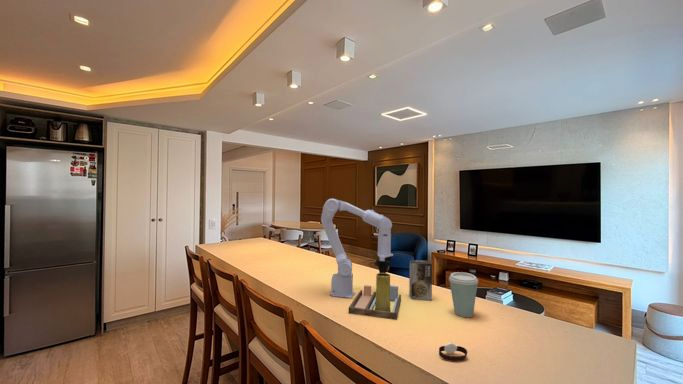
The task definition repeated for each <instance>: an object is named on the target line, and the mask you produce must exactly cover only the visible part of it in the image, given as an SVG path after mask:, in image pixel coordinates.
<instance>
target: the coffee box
mask: <svg viewBox="0 0 683 384" xmlns="http://www.w3.org/2000/svg"><path fill="white" fill-rule="evenodd" d="M408 282H409V283H408V285H409V286H408V287H409V289H408V293H409V294H408V295H409V298H410V299H411V300H415V301H417V300H418V301H419V300H420V301H432V300H433V299H432V298H433V263H432V262H431V261H430V260H420V259H419V260H417V259H412V260H411V259H410V260H409V280H408Z"/></svg>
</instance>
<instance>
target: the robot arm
mask: <svg viewBox="0 0 683 384" xmlns="http://www.w3.org/2000/svg"><path fill="white" fill-rule="evenodd" d="M338 211H339V212H344V211H345V212H349V213H350V214H353V215H356V216H358V217H360V218H362V221H363V222H365V223H367V224H369V225H371V226H373V227H376V228H377V227H378V233H377V234H378V236H377V253H376V254H377V256H378V258H379V259H378V258H377V259H376V260H375V262H376V265H377V267H378V271H379V272H378V273H388V270H389V266H390V265H389V264H390V262H391V260H392V257H393V256H394V254H393V253H392V251H391V249H392V248H391V246H392V245H391V244H392V243H391V241H392V232H391V231H392V230H391V229H392V227H393V223H392V220H391V219H389V217H387V216H384V214H382V213H381V214H379V213H377V212H376V211H375V210H374V209H367V210H363V209H362V208H359V207H357V206H356V205H353V204H351V203H349V202H346V201H344V200H339V199H336V198H329V199H327V200H326V201H325V203H324V204H323V207H322V212H321V216H320V222H321V224H322V227H323V229H324V232H325V234H326V237H327V239H328V242H329V244H330V246H331V249H332V251H333V254H334V256H335V260H336V264H337V273H333V274H332V277H331V285H330V296H332V297H338V298H346V299H351V298H353V296H354V295H355V293H356V292H355V291H354V290H353V287H354V286H353V283H354V277H353V276H354V273H353V262H352V260H351V259H349V257H348V255H347V253H346V252H345V249H344V246H343V244H342V242H341V240H340V237H339V234H338V233H337V230H336V227H335V224H334V223H333V219H334V216H335V214H336V213H337V212H338Z"/></svg>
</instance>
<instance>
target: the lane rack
mask: <svg viewBox="0 0 683 384" xmlns="http://www.w3.org/2000/svg"><path fill="white" fill-rule="evenodd" d="M362 294H363V290H362V289H361V290H360V291H359V292H358V293H357V295H356V296H355V297H354V299H353V301H352V302H351V303H350V305H349V306H348V314H351V315H357V316H358V315H360V316H366V317H371V318H382V319H388V320H395V321H397V320H398V317H399V311H400V306H401V302H402V294H398V302H397V306H396V310H395V313H394V312H392V311H391V312H386V311H379V310H375V309H373V310H371V309H370V307H371V305H372V303H373V301H374V299H375V297H376V291H373V293H372V294H371V295H372V297H371V299H370V301H369V303H368V304H367V306H366V308H365V309H363V308H356V307H355V305H356V304H357V302H358V300H359V299H360V297H361V296H362Z"/></svg>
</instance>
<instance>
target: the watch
mask: <svg viewBox="0 0 683 384" xmlns="http://www.w3.org/2000/svg"><path fill="white" fill-rule="evenodd" d="M443 352H445V353H447V354H445V353H443ZM455 352H460V353H463V354H464V355H452V354H454V353H455ZM448 354H451V355H448ZM438 355H439V357H440V358H441V359H442V360H445V361H449V360H450V361H449V362H463V361H465V360H466V359H467V356H468V349H466V348H465V347H463V346H460V345H456V344H455V343H453V342H448V343H446V344H445V345H442V346H439V348H438Z"/></svg>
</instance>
